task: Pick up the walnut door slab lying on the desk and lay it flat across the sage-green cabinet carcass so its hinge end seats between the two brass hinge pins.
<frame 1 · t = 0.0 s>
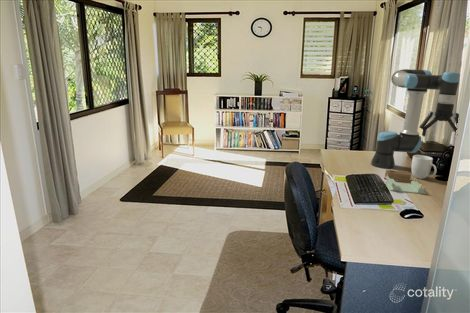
hand: (437, 143, 188), 28 cm above the table, fingers open, 13 cm apart
door: (397, 179, 215), on the table
carcass: (404, 188, 200), on the table
mug: (420, 178, 220), on the table
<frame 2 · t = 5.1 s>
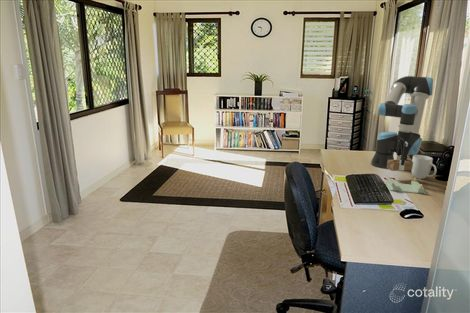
hand: (399, 167, 214), 7 cm above the table, fingers closed on door, 8 cm apart
door: (399, 168, 214), point 7 cm above the table, touching gripper
everything else where it was.
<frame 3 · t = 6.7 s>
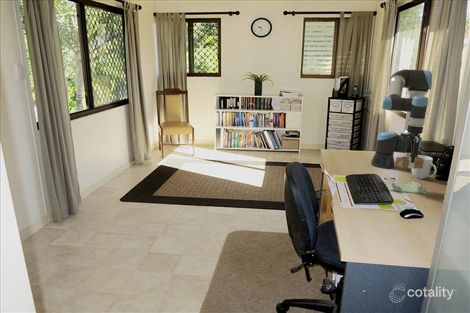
hand: (408, 165, 196), 13 cm above the table, fingers closed on door, 8 cm apart
door: (408, 166, 197), point 13 cm above the table, touching gripper
everything else where it was.
when the fingers open (4 cm above the table, at t = 8.8 s): door stays where it is, resting on carcass.
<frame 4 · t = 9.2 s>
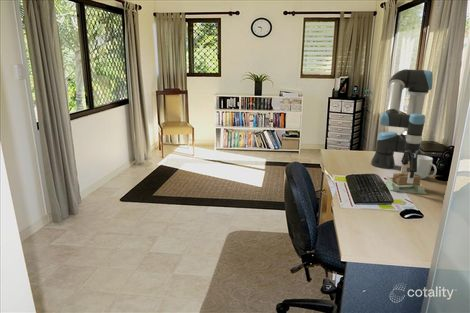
hand: (406, 179, 198), 5 cm above the table, fingers open, 13 cm apart
door: (405, 183, 199), point 3 cm above the table, touching carcass
everything else where it was.
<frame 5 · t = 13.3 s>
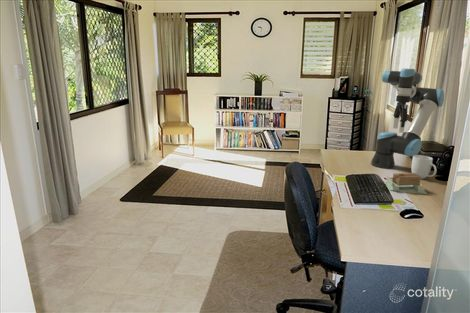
hand: (397, 130, 215), 29 cm above the table, fingers open, 13 cm apart
nothing on the table moved.
at the end: door 0.1 cm off-centre on the carcass, point 3.0 cm above the carcass's base; door tilted 0°; the gripper is holding nothing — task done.
